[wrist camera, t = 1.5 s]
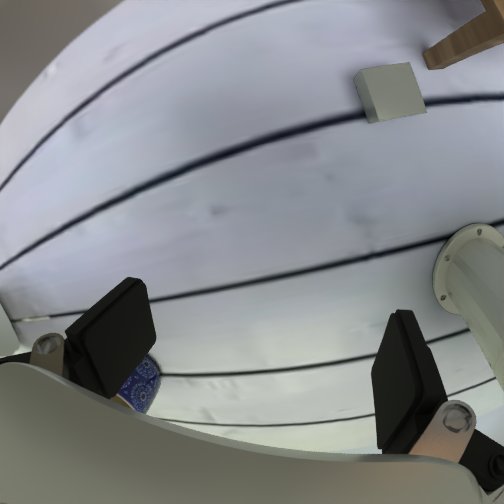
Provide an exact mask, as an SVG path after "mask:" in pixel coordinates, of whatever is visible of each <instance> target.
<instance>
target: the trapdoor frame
mask: <svg viewBox="0 0 504 504" xmlns="http://www.w3.org/2000/svg"><path fill="white" fill-rule="evenodd" d="M480 1H481V2H482V4H483V6H484V8H485V10H486V11H485V12H484V13H482V14H481V15H479V16H478V17H476V18H474V19H473V20H471V21H470V22H468V23H467V24H465V25H464V26H462V27H461V28H459V29H458V30H456V31H455V32H453V33H452V34H450V35H449V36H447V37H446V38H444V39H443V40H441V41H440V42H439V43H437V44H436V45H434V46H433V47H431V48H430V49H429V50H427V51H426V52H424V53H423V57H424V59H425V62H426V64H427V67H428V69H429V70H435V69H444V68H446V67H448V66H450V65H452V64H454V63H457V62H459V61H461V60H463V59H465V58H468V57H470V56H472V55H475V54H477V53H479V52H482V51H484V50H487V49H489V48H491V47H494V46H496V45H499V44H502V43H504V0H480Z"/></svg>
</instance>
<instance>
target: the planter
mask: <svg viewBox="0 0 504 504" xmlns="http://www.w3.org/2000/svg"><path fill="white" fill-rule="evenodd" d="M160 384H161V378H160V373H159V370H158V368H157V367H156V365H155V364H154V362H153V361H152V360H151V359H150V358H148V357H147V356H145V357H144V358H143V360H142V361H141V362H140V364H139V365H138V366H137V368H136V369H135V370H134V372H133V373H132V374H131V376H130V377H129V378H128V380H127V381H126V382H125V384H124V385H123V386H122V388H121V389H120V390H119V392H118V393H117V395H116V396H115V397H113V398H112V397H111V399H110V400H111V401H113V402H116V403H118V404H120V405H123V406H125V407H128V408H130V409H133V410H135V411H138V412H141V413H143V414H146V413H147V412H148V410H149V408H150V406H151V405H152V403H153V401H154V399H155V397H156V395H157V393H158V391H159V388H160Z"/></svg>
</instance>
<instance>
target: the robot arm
mask: <svg viewBox="0 0 504 504" xmlns="http://www.w3.org/2000/svg"><path fill="white" fill-rule="evenodd" d="M433 290H434V293H435V296H436V298H437V300H438V302H439V303H440V304H441V306H442V307H443V308H444V309H445V310H447V311H448V312H450V313H453V314H458V315H461V316H462V317H463V319H464V321H465V322H466V324H467V325H468V327H469V329H470V330H471V332H472V334H473V336H474V337H475V339H476V341H477V342H478V344H479V346H480V348H481V350H482V351H483V353H484V355H485V357H486V359H487V361H488V363H489V365H490V366H491V368H492V370H493V372H494V374H495V376H496V378H497V380H498V382H499V384H500V386H501V388H502V389H503V391H504V237H503V236H502V234H501V233H500V232H499V231H498V230H496V229H495V228H493V227H492V226H490V225H487V224H482V223H476V224H471V225H469V226H466V227H464V228H462V229H461V230H459V231H458V232H456V233H455V234H454V235H453V236H452V237H451V238H450V239H449V240H448V242H447V243H446V244H445V245H444V247H443V249H442V250H441V252H440V254H439V256H438V258H437V261H436V263H435V267H434V272H433ZM65 333H66V335H67V338H66V339H65V340H64V338H63V336H62V335H60V334H58V333H48V334H45V335H43V336H41V337H40V338H38V339H37V340H36V341H35V343H34V344H33V347H32V352H27V353H22V354H17V355H12V356H7V357H4V358H0V504H504V446H502V445H500V444H498V443H497V442H495V441H494V440H492V439H491V438H489V437H487V436H486V435H484V434H483V433H481V432H480V431H478V430H476V429H475V426H476V415H475V413H474V411H473V409H472V408H471V407H470V406H469V405H468V404H466V403H465V402H462V401H460V400H450V401H448V398H447V395H446V392H445V389H444V386H443V383H442V380H441V377H440V374H439V371H438V368H437V366H436V363H435V360H434V357H433V355H432V352H431V350H430V348H429V347H427V345H426V342H425V340H424V337H423V335H422V332H421V330H420V327H419V325H418V322H417V320H416V318H415V315H414V313H413V311H412V310H399V309H398V310H396V312H395V313H391V315H390V317H389V321H388V324H387V327H386V330H385V333H384V336H383V339H382V342H381V345H380V348H379V350H378V353H377V356H376V359H375V361H374V364H373V367H372V371H371V378H372V387H373V396H374V406H375V418H376V432H377V447H378V449H382V454H343V453H326V452H312V451H301V450H292V449H284V448H277V447H270V446H264V445H258V444H252V443H247V442H242V441H237V440H232V439H228V438H223V437H219V436H215V435H211V434H207V433H203V432H199V431H196V430H192V429H189V428H185V427H182V426H179V425H175V424H172V423H169V422H166V421H163V420H160V419H157V418H154V417H151V416H149V415H146V414H143V413H141V412H138V411H135V410H133V409H130V408H128V407H125V406H123V405H120V404H118V403H116V402H113V401H111V400H110V399H111V397H112V398H113V397H115V396H116V395H117V393H118V392H119V390H120V389H121V388H122V386H123V385H124V384H125V382H126V381H127V380H128V378H129V377H130V376H131V374H132V373H133V372H134V370H135V369H136V368H137V366H138V365H139V364H140V362H141V361H142V360H143V358H144V357H145V356H146V354H147V353H148V352H149V350H150V349H151V348H152V346H153V345H154V344H155V341H156V332H155V328H154V323H153V319H152V314H151V309H150V304H149V299H148V294H147V288H146V285H145V284H144V283H143V281H142V280H141V279H138V278H132V277H127V278H126V279H124V280H123V281H122V282H121V283H120V284H118V285H117V286H116V287H115V288H114V289H112V290H111V291H110V292H109V293H108V294H106V295H105V296H104V297H103V298H102V299H100V300H99V301H98V302H97V303H96V304H95V305H93V306H92V307H91V308H90V309H89V310H88V311H87V312H85V313H84V314H83V315H82V316H81V317H80V318H79V319H77V320H76V321H75V322H74V323H73V324H72V325H71V326H70V327H68V328H67V329H66V330H65Z"/></svg>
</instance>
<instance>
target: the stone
mask: <svg viewBox="0 0 504 504" xmlns="http://www.w3.org/2000/svg"><path fill="white" fill-rule="evenodd" d="M354 83H355V85H356V88H357V91H358V93H359V96H360V99H361V102H362V105H363V108H364V110H365V113H366V117H367V120H368V123H369V124H370V123H375V122H380V121H385V120H390V119H395V118H401V117H406V116H412V115H417V114H422V113H427V111H426V108H425V105H424V102H423V98H422V95H421V92H420V89H419V87H418V84H417V81H416V78H415V75H414V73H413V70H412V68H411V65H410V63H409V62H407V63H399V64H391V65H384V66H378V67H372V68H366V69H361V70H360V72H359V73H358V74H357V76H356V77H355V79H354Z"/></svg>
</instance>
